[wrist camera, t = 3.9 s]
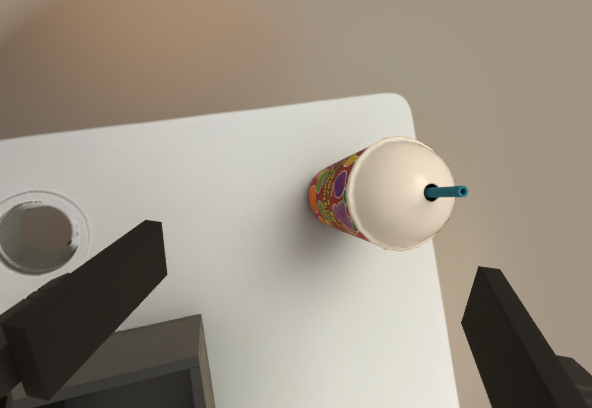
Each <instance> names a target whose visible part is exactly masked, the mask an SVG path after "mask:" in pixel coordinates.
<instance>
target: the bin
mask: <svg viewBox="0 0 592 408" xmlns="http://www.w3.org/2000/svg"><path fill="white" fill-rule="evenodd" d="M11 392H12V396H13V403H12V408H215V402H214V395H213V389H212V382H211V376H210V369H209V362H208V356H207V349H206V343H205V336H204V330H203V323H202V316H201V314H198V315H194V316H189V317H184V318H180V319H175V320H170V321H166V322H161V323H157V324H152V325H147V326H143V327H138V328H133V329H129V330H124V331H119V332H115V333H112V334H111V335H110V336H109V337H108V339H107V340H106V341H105V342H104V343H103V344H102V345H101V346H100V347H99V348H98V349H97V350H96V351H95V352H94V353H93V355H92V356H91V357H90V358H89V359H88V360H87V361H86V362H85V363H84V364H83V365H82V366H81V367H80V368H79V369H78V371H77V372H76V373H75V374H74V375H73V376H72V377H71V378H70V379H69V380H68V381H67V382H66V383H65V384H64V385H63V387H62V388H61V389H60V390H59V391H58V392H57V393H56V394H55V395H54V396H53V397H52V398H51V399H50V400H49V401H46V400H42V399H38V398H34V397H29V396H26V393H25V390H24V388H23V385H22V382H20V383H19V384H18V385H17V386H16V387H15V388H14V389H12V390H11Z"/></svg>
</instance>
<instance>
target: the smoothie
mask: <svg viewBox="0 0 592 408" xmlns="http://www.w3.org/2000/svg"><path fill="white" fill-rule="evenodd" d="M467 194H468V189H467V187H466V186H455V181H454V178H453V175H452V173H451V171H450V169H449V167H448V165H447V164H446V163H445V162H444V161H443V160H442V158H441V157H440V156H439V155H438V154H437V153H435V152H433V151H432V149H431V148H430V147H428V146H426V145H425V144H423V143H421V142H420V141H418V140H416V139H412V138H407V137H402V136H397V137H390V138H384V139H382V140H380V141H378V142H376V143H375V144H373V145H371V146H369V147H367V148H365V149H363V150H361V151H359V152H357V153H355V154H353V155H351V156H349V157H347V158H345V159H343V160H341V161H339V162H337V163H335V164H333V165H331V166H328V167H327V168H325V169H323V170H322V171H320V172H319V173H318V174H317V176H316V177H315V178H314V180H313V182H312V184H311V187H310V192H309V201H310V206H311V209H312V211H313V212H314V214H315V216H316V217H317V218H318V219H319V220H320V221H321V222H322V223H324V224H326V225H328V226H330V227H333V228H336V229H338V230H341V231H343V232H346V233H348V234H351V235H353V236H356V237H358V238H361V239H363V240H366V241H369V242H371V243H373V244H375V245H377V246H379V247H382V248H384V249H386V250H394V251H406V250H410V249H414V248H418V247H420V246H421V245H423V244H424V243H426V242H427V241H429V240H430V239H432V237H433V236H434V235H435V234H436V233H438V232H439V231H440V230H441V228H442V227H443V226H444V225H445V223H446V222H447V221H448V220H449V218H450V216H451V213H452V211H453V208H454V206H455V198H456V197H465V196H467Z"/></svg>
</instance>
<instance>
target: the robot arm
mask: <svg viewBox="0 0 592 408" xmlns="http://www.w3.org/2000/svg"><path fill="white" fill-rule="evenodd" d="M166 276H167V267H166V258H165V249H164V240H163V231H162V222H157V221H150V220H145V221H143V222H142V223H140V224H139V225H138V226H136V227H135V228H133V229H132V230H131V231H129V232H128V233H126V234H125V235H124V236H122V237H121V238H119V239H118V240H117V241H115V242H114V243H112V244H111V245H110V246H108V247H107V248H105V249H104V250H103V251H101V252H100V253H98V254H97V255H96V256H94V257H93V258H91V259H90V260H88V261H87V262H86V263H84V264H83V265H81V266H80V267H79V268H77V269H76V270H74V271H73V272H72V273H66V274H64V275H62V276H59V277H57V278H55V279H52V280H51V281H49V282H48V283H46V284H45V285H43V286H42V287H40V288H39V289H38V291H35V292H33V293H32V294H30V295H29V296H27V298H26V299H23V300H22V301H20V302H19V303H17V304H16V305H14V306H13V307H11V308H10V309H9V310H7V311H6V312H4V313H3V314H1V315H0V408H12V403H13V396H12V392H11V390H12V389H14V388H15V387H16V386H17V385H18V384H19V383H20V382H22V385H23V388H24V390H25V393H26V396H29V397H34V398H38V399H42V400H46V401H49V400H50V399H51V398H52V397H53V396H54V395H55V394H56V393H57V392H58V391H59V390H60V389H61V388H62V387H63V385H64V384H65V383H66V382H67V381H68V380H69V379H70V378H71V377H72V376H73V375H74V374H75V373H76V372H77V371H78V369H79V368H80V367H81V366H82V365H83V364H84V363H85V362H86V361H87V360H88V359H89V358H90V357H91V356H92V355H93V353H94V352H95V351H96V350H97V349H98V348H99V347H100V346H101V345H102V344H103V343H104V342H105V341H106V340H107V339H108V337H109V336H110V335H111V334H112V333H113V332H114V331H115V330H116V329H117V328H118V327H119V326H120V325H121V324H122V323H123V321H124V320H125V319H126V318H127V317H128V316H129V315H130V314H131V313H132V312H133V311H134V310H135V309H136V308H137V307H138V305H139V304H140V303H141V302H142V301H143V300H144V299H145V298H146V297H147V296H148V295H149V294H150V293H151V292H152V291H153V289H154V288H155V287H156V286H157V285H158V284H159V283H160V282H161V281H162V280H163V279H164V278H165V277H166ZM461 324H462V327H463V329H464V332H465V335H466V337H467V340H468V343H469V346H470V349H471V351H472V354H473V357H474V359H475V362H476V365H477V368H478V370H479V373H480V376H481V378H482V381H483V384H484V387H485V390H486V392H487V395H488V398H489V400H490V403H491V406H492V408H592V376H591V374H590V373H588V372H587V371H586V370H585V369H584V368H583V367H582V366H581V365H579V364H578V363H577V362H576V361H575V360H574V359H572V358H569V357H563V356H558V355H555V353H554V352H553V350H552V349H551V347H550V346H549V344H548V343H547V341H546V339H545V338H544V336H543V335H542V333H541V332H540V330H539V329H538V327H537V326H536V324H535V323H534V321H533V319H532V318H531V316H530V315H529V313H528V312H527V310H526V309H525V307H524V305H523V304H522V302H521V301H520V299H519V298H518V296H517V295H516V293H515V292H514V290H513V289H512V287H511V286H510V284H509V282H508V281H507V279H506V278H505V276H504V275H503V273H502V272H501V270H500V269H494V268H488V267H480V266H479V267H478V269H477V273H476V276H475V279H474V283H473V286H472V289H471V292H470V296H469V299H468V302H467V306H466V309H465V312H464V316H463V318H462V322H461Z"/></svg>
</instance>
